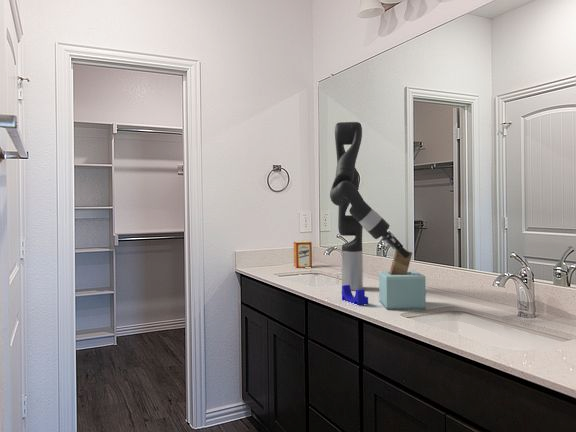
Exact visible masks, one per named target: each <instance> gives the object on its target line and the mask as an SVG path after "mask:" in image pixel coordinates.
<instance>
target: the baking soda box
mask: <svg viewBox="0 0 576 432" xmlns="http://www.w3.org/2000/svg"><path fill="white" fill-rule="evenodd" d="M312 255H313V253H312V241H304V240H303V241H302V240H298V241H293V267H294V266H295V267H296V268H303V269H306V268H305V267H312V268H313V261H312V260H313V256H312ZM296 268H295V269H296Z"/></svg>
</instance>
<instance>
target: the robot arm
mask: <svg viewBox="0 0 576 432" xmlns="http://www.w3.org/2000/svg"><path fill="white" fill-rule="evenodd" d="M362 127H363V126H362V124H361V123H360V122H358V121H345V122H343V121H342V122H337V123H335V127H334V139H335V140H334V141H335V142H334V143H335V151H336V162H337V163H336V171H335V177H334V180H333V182H332V184H331V185H332V186H331V188H330V193H329V198H330V201H331V202H332V203H333V205H334V206H338V217H337V218H338V219H337V220H338V221H337V222H338V223H337V226H338V228H337V229H338V233H339V235H340V236H343V237H344V236H345V237H347V236H351V237H353V236H354V238H353V239H352V240H351V241H349V242H345V243H343V244H342V245H341V281H342V282H341V286H342V285H350V288H351V291H356V290H360V289H363V288H364V287H363V286H364V283H363V280H364V278H363V277H364V276H363V275H364V274H363V272H364V271H363V270H364V269H363V263H364V262H363V229H364V230H365V231H366V232H368V233H369V235H370V236H371V237H372V238H373V239H375V240H378V239H380V238H382V239H381V240H382V241H383V242H384V243H385V244H387V245H388V246H389V248H391V249H392V250H394V251H396V250H397V251H398V252H400V253H401V254H402V255H403V256H404V257H405V258H407V257H408V256H409V255H410V254H409V253H408V252H407V251H408V250H406V249H405V247H404V245H403V244H402V243H401V242H400V240H399V239H397V237H396V236H395V235H394V234H393V233H392V232H388V231H389V229H390V223H388V222H387V221H386V219H384V218H383V217H382V216H381V215H380V214H379V213H378V212H377V211H375V210H374V209H373V208H372V207H371V206H370V205H369V204H368V203H367V202H366V201H365V200H364V198H363V196H362V195H361V194H360V192H359V187H360V177H359V171H358V169H357V168H356V164H357V163H356V162H357V160H358V155H359V151H360V146H361V144H362V138H363V128H362ZM345 145H348V146H349V145H350V147H348V149H347V150H345ZM349 206H351V207H350V208H349ZM348 208H349V211H348V212H349V213H350V214H348V215H346V213H347V209H348Z"/></svg>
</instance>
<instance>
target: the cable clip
mask: <svg viewBox="0 0 576 432" xmlns="http://www.w3.org/2000/svg"><path fill="white" fill-rule="evenodd" d="M344 300H345V302H346V301H348V302H347V303H349V302H351V303H354V304H357V305H362V306H365V305H364V304H368V305H369V297H368V296H366V292H365V289H360V290H355V295H353V292H352V290H351V288H350V285H342V284H341V301H344ZM351 303H350V304H351ZM354 304H353V305H354ZM357 305H356V306H357Z"/></svg>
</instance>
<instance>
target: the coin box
mask: <svg viewBox="0 0 576 432" xmlns="http://www.w3.org/2000/svg"><path fill="white" fill-rule="evenodd" d="M389 273H390V270H379V271H378V279H379V280H378V283H379V284H378V288H379V289H378V292H379V293H378V294H379V295H378V297H379V301H378V302H379V303H380V304H381V305H382V306H383V307H384V309H395V310H394V311H397V310H399V311H400V310H401V311H402V310H404V311H405V310H413V311H414V310H415V311H417V310H427V309H426V308H427V305H426V304H427V303H426V301H427V300H426V297H427V296H426V293H427V292H426V287H427V285H426V275H423V274H422V273H420V272H418V271H417V270H408V271H407V275H391V274H389ZM396 309H397V310H396Z"/></svg>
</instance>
